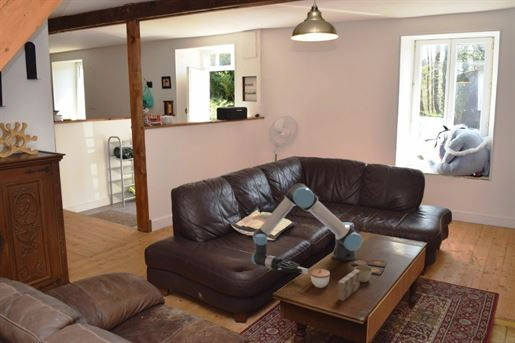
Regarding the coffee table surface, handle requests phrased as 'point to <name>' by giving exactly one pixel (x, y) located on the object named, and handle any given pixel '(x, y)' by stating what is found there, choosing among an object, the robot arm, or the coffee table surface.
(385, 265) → the coffee table surface
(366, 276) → the flower pot
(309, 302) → the coffee table surface
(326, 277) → the lidded jar
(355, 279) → the grey brown rectangular panel
